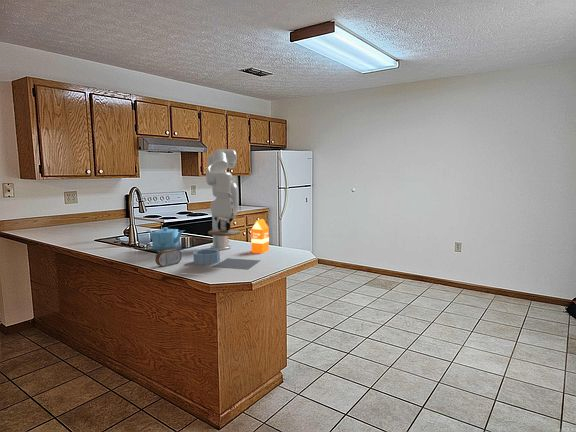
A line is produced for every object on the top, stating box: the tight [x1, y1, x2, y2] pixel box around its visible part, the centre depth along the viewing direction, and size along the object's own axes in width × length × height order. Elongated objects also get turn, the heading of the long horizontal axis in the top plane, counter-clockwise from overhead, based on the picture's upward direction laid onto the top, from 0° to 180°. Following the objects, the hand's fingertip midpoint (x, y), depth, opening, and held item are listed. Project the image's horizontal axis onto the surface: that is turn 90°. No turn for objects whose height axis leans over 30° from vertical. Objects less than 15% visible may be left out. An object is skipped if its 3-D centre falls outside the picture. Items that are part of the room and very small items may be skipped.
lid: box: [207, 219, 241, 237], centre depth 209 cm, size 17×17×7 cm
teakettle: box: [145, 226, 186, 253], centre depth 244 cm, size 19×19×15 cm
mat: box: [212, 257, 261, 270], centre depth 209 cm, size 20×20×1 cm
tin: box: [154, 248, 183, 267], centre depth 208 cm, size 15×3×8 cm, turn 141°
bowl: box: [192, 248, 221, 266], centre depth 214 cm, size 14×14×6 cm
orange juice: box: [250, 218, 270, 254], centre depth 241 cm, size 8×9×20 cm
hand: (224, 229), depth 209 cm, fingers closed on lid, 4 cm apart
